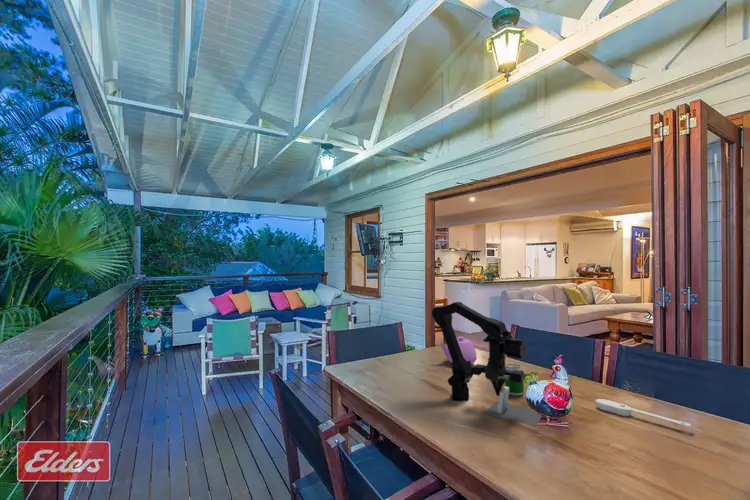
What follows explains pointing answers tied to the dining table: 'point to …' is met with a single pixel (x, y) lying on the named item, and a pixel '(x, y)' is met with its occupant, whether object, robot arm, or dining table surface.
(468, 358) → the teapot
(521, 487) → the dining table surface
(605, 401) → the spatula
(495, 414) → the mat
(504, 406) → the tile
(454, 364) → the robot arm
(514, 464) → the dining table surface
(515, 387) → the soda can
